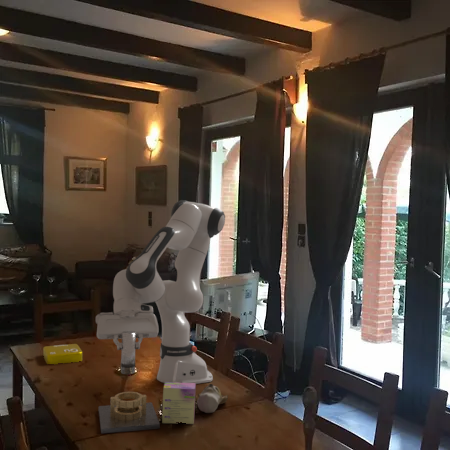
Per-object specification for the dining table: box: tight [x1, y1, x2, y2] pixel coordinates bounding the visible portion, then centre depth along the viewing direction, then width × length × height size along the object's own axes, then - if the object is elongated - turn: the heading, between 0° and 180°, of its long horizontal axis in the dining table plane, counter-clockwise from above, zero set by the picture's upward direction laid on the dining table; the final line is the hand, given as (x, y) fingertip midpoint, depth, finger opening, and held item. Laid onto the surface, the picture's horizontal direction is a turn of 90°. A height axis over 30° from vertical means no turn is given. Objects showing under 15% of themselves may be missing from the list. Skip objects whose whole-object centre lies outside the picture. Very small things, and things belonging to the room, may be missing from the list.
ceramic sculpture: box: [196, 383, 229, 414], centre depth 187 cm, size 11×9×15 cm
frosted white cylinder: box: [120, 331, 137, 375], centre depth 174 cm, size 5×5×13 cm
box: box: [161, 382, 197, 425], centre depth 175 cm, size 10×6×12 cm, turn 92°
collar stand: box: [98, 391, 161, 434], centre depth 174 cm, size 18×18×8 cm
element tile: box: [42, 343, 83, 365], centre depth 236 cm, size 15×15×5 cm
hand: (128, 348), depth 173 cm, fingers closed on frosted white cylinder, 4 cm apart
